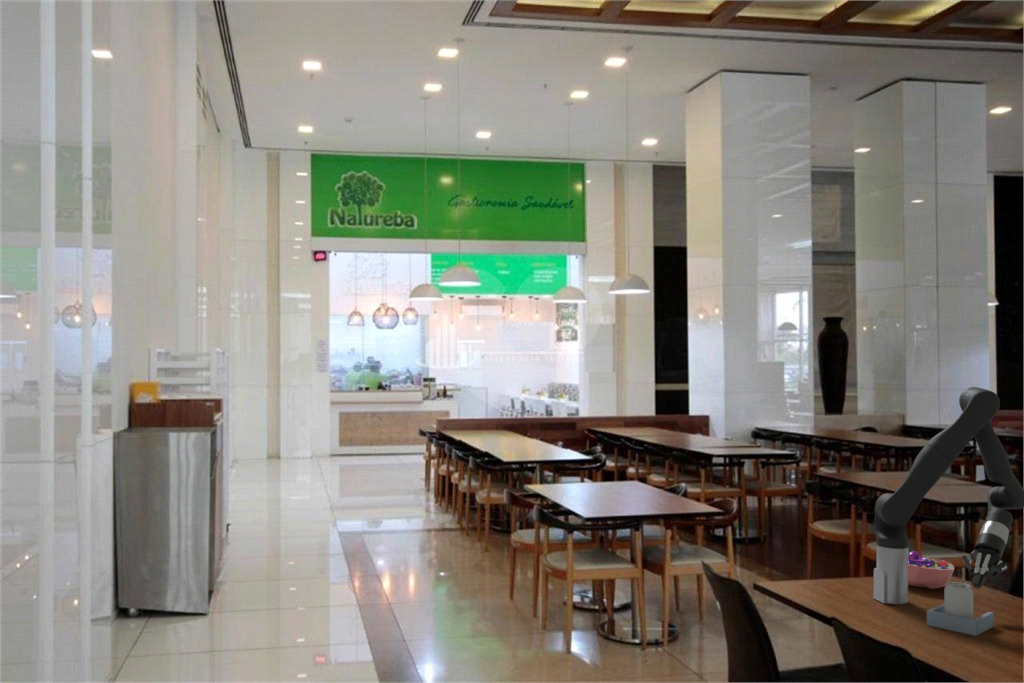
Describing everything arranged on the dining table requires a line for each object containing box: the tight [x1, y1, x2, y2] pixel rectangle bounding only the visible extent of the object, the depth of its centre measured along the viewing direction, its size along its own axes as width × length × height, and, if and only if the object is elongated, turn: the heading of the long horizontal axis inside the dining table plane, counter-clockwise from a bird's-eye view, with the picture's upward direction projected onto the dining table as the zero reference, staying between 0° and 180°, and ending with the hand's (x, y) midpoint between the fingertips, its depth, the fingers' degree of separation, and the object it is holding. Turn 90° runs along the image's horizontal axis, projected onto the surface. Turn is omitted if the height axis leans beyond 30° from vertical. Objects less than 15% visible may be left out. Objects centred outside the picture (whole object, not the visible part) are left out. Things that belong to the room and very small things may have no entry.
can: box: [943, 581, 974, 619], centre depth 262 cm, size 8×8×12 cm
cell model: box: [908, 550, 955, 590], centre depth 306 cm, size 17×20×11 cm
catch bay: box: [926, 603, 994, 637], centre depth 263 cm, size 13×13×4 cm
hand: (976, 586), depth 271 cm, fingers closed
